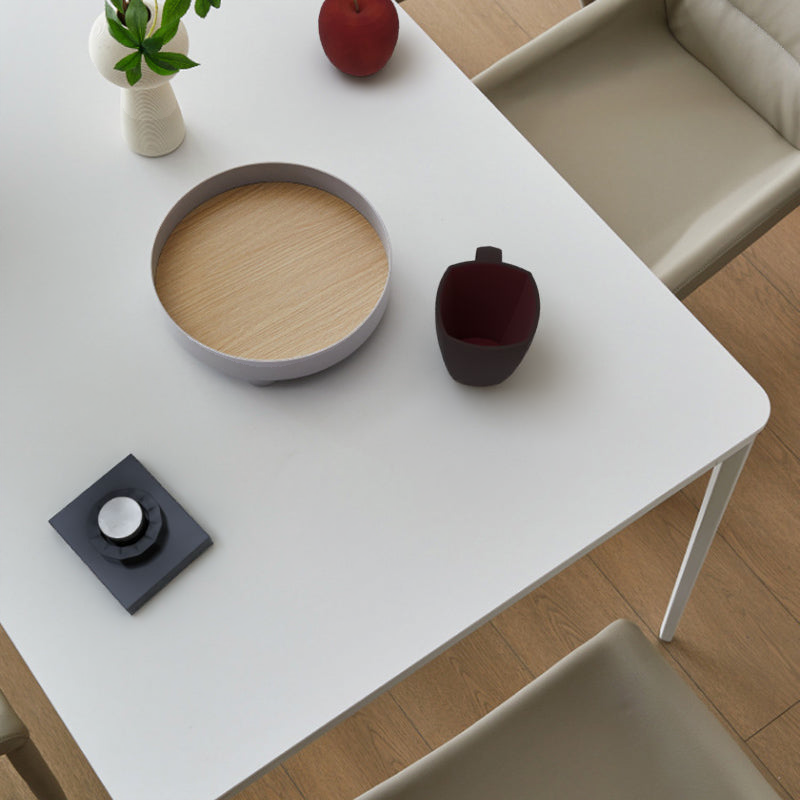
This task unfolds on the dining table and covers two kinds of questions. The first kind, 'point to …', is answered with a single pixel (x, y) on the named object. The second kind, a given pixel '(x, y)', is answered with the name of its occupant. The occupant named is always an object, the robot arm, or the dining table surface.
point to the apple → (358, 34)
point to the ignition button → (122, 520)
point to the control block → (142, 559)
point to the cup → (485, 318)
